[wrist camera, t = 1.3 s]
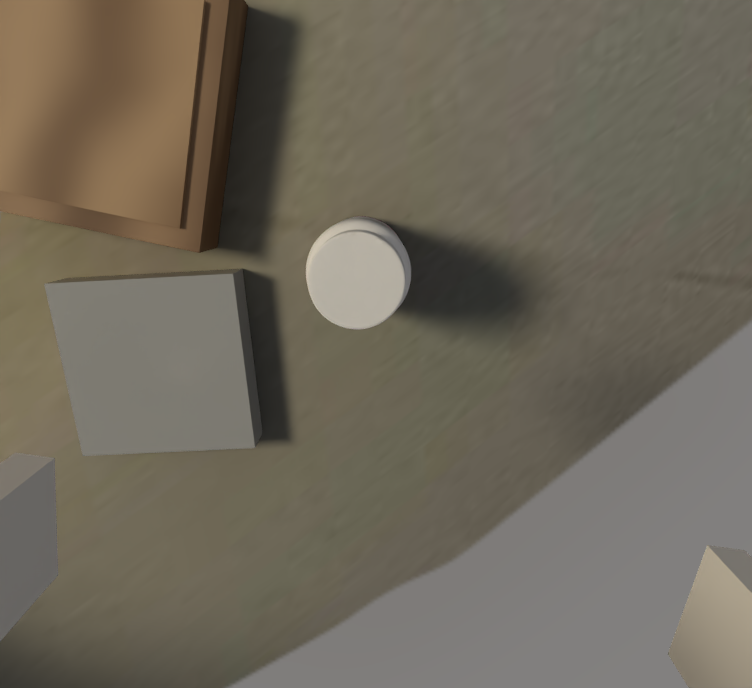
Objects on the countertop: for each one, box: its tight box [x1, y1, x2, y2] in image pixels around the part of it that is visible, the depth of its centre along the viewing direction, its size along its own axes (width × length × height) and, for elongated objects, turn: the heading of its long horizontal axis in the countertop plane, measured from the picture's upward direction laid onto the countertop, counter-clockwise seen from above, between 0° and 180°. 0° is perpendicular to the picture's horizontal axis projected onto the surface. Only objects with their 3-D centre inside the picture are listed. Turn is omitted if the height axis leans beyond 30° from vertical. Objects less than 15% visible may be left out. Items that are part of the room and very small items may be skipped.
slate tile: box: [44, 269, 263, 456], centre depth 30 cm, size 10×10×2 cm
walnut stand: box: [0, 0, 248, 253], centre depth 25 cm, size 12×12×3 cm
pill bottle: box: [306, 216, 411, 329], centre depth 25 cm, size 5×5×8 cm
